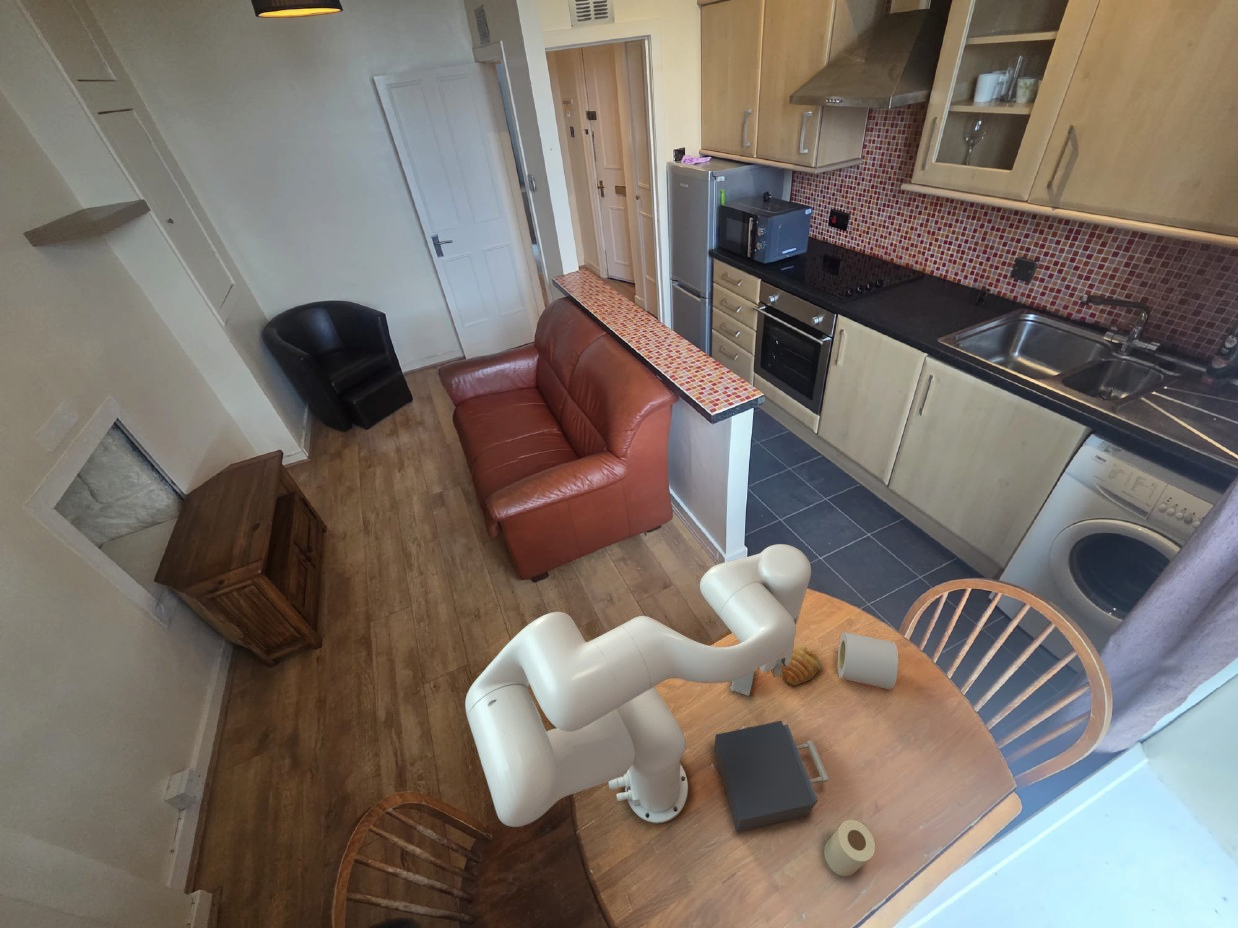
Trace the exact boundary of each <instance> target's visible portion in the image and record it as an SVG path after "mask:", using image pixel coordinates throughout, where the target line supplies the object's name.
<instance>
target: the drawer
mask: <svg viewBox="0 0 1238 928" xmlns="http://www.w3.org/2000/svg"><path fill="white" fill-rule="evenodd" d="M783 726H784V729H785V731H786V734H787V736H788V739H789V741H790V744H791V747H792V749H793V752H794V754H795V757H796V759H797V762H798V765H799V767H800V770H801V772H802V775H803V777H804V780H805V783H806V785H807V788H808V790H809V793H810V795H811V798H812V801H813V803H814V805H813V806H812V808H811V810H810V811H809V812H812V811H813V809H814V808H815V806H816V804H817V802H818V801H819V799H818V796H817V794H816V792H815V789H814V787H813V784H815V783H819V782H822V783H828V782H829V781H830V778H829V775H828V772H827V770H826V768H825V765H824V763H823V760H822V758H821V757H820V753H819V751H818V749H817V746H816V744H815V742H814V740H808V741H807V742H806V743H803V744H798V745H797V744H796V741H795V739H794V736H793V734H792V730H791V729H790V726H789V724H783ZM807 748H808V750H809V753H810V755H811V757H812V760H813V763H814V765H815V767H816V770H817V773H818V775H819V776H818V777H814V778H810V777H809V775H808V772H807V770H806V766H805V765H804V762H803V759H802V757H801V754H800V752H799V750H803V749H807Z"/></svg>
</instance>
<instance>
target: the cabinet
mask: <svg viewBox="0 0 1238 928" xmlns="http://www.w3.org/2000/svg"><path fill="white" fill-rule="evenodd" d="M783 725H784V724H783V721H782V720H778V721H777V720H776V721H772V722H769V723H764V724H759V725H754V726H749V727H745V728H740V729H736V730H730V731H725V732H722V733H716V734H715V736H714V737H715V738H714V746H713V753H714V757H715V759H716V763H717V767H718V770H719V774H720V778H721V781H722V785H723V789H724V793H725V795H726V798H727V803H728V807H729V809H730V813H731V817H732V820H733V824H734V827H735V832H736V833H742V832H747V831H751V830H752V831H753V830H754V829H755V830H756V829H760V828H765V827H768V826H774V825H777V824H782V823H787V822H791V821H795V820H800V819H804V818H807V816H808V815H809V813H810V812H811V811H810V810H811V808H812V806H813V805H814V803H813V801H812V798H811V795H810V793H809V790H808V788H807V785H806V783H805V780H804V777H803V775H802V772H801V770H800V767H799V765H798V762H797V759H796V757H795V754H794V752H793V749H792V747H791V744H790V741H789V739H788V736H787V734H786V731H785V729H784V726H783Z"/></svg>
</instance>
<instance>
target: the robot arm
mask: <svg viewBox="0 0 1238 928" xmlns="http://www.w3.org/2000/svg"><path fill="white" fill-rule="evenodd" d="M811 576H812V565H811V562H810V560H809V558H808V557H807V555H806V554H805V553H804V552H803V551H802V550H800V549H798V548H796V547H795V546H793V545H789V544H785V543H778V544H773V545H769V546H767V547H765V548H764V549H763V550H762V551H761V552H760V553H756V554H753V555H750V556H746V557H741V558H737V559H733V560H729V561H726V562H722V563H718V564H715V565H713V566H712V567H710V568H709V569H708V570H707V571H706V572H705V573H704V574H703V576H702V577H701V579H700V582H699V591H700V593H701V595H702V597H703V598H704V600H705V601H706V602H707V604H708V605H709V606H710V607H711V608H712V609H713V611H714V612H715V613H716V614H717V615H718V617H719V619H721V621H722V622H723V623H724V624H725V626H726V627H727V628H728V630H730V632H731V634H732V635H734V637H735V638H736V640H738V644H735V645H731V646H712V645H707V644H704V643H702V642H698V641H695V640H693V639H691V638H689V637H687V636H686V635H683V634H681V633H680V632H678V631H676V630H675V629H673V628H670V627H669V626H667V625H665V624H663V623H662V622H660V621H658V620H656V619H654V618H652V617H650V616H647V615H638V616H636V617H633V618H632V619H630V620H628V621H626V622H624V623H622V624H620V625H619V626H616V627H614V628H613V629H611V630H609V631H607V632H605V633H602V634H601V635H599V636H597V637H595V638H593V639H591V640H589V641H586V640H585V639H584V638H585V637H584V636H583V635H582V633H581V630H579V628H578V626H577V624H576V623H575V621H574V619H573V618H572V617H571V615H569V614H567V612H563V611H552V612H549V613H546V614H544V615H542V616H540V617H538V618H536V619H534V620H532V621H531V622H530V623H529V624H527V625H526V626H524V627H523V628H522V629H521V630H520V631H519V632H517V634H516V635H515V636H513V638H512V639H511V640H510V641H509V642H508V643H507V644H506V645H505V646H504V647H503V648H502V649H501V650H500V651H499V653H497V655H496V656H495V657H494V659H493V660H492V661H490V663H489V664H488V665H487V666H486V667H485V669H484V670H483V671H482V672H481V673H480V674H479V676H477V678H476V679H475V680H474V682H473V683H472V684H471V686H470V687H469V689H468V691H467V693H466V697H465V701H464V708H465V714H466V718H467V722H468V724H469V728H470V731H471V734H472V737H473V740H474V744H475V747H476V749H477V754H478V757H479V760H480V764H481V766H482V770H483V772H484V776H485V779H486V783H487V786H488V790H489V792H490V796H491V799H492V802H493V806H494V810H495V813H496V816H497V817H498V819H499V821H500V822H501V823H502V824H503V825H504V826H508V827H513V828H517V827H518V828H519V827H523V826H524V827H525V826H527V825H529V824H532V823H534V822H535V821H537V820H538V819H539V818H541V817H542V816H543V815H545V814H546V813H547V812H548V811H549V810H550V809H551V808H552V807H553V806H555V804H556V803H557V802H559V801H560V800H561V799H563V798H566V797H568V796H571V795H574V794H577V793H580V792H582V791H585V790H588V789H589V790H590V789H591V788H594V787H595V788H596V787H597V786H600V785H604V784H605V783H608V788H609V791H613V790H617V789H620V788H624V791H625V792H623V791H622V792H618V793H616V801H617V802H622V801H626V800H627V802H628V805H629V806H630V808H631V810H632V811H633V812H634V813H635V814H636V816H638V817H639V818H640V819H642V820H644V821H646V822H647V823H652V824H663V823H667V822H669V821H671V820H673V819H674V818H676V817H677V816H678V815H679V814H680V813H681V812H682V810H683V808H684V807H685V805H686V802H687V799H688V795H689V794H688V793H689V782H688V777H687V774H686V770H685V769H684V767H683V765H682V764H681V759H682V758H683V756H684V754H685V752H686V749H687V740H686V736H685V734H684V731H683V728H681V725H680V724H679V722H678V721H677V719H676V717H675V716H674V714H673V712H672V711H671V709H670V707H669V706H668V705H667V703H666V701H665V700H664V699H663V697H662V696H661V694H660V692H659V691H658V689H657V687H656V686H658V685H660V684H661V683H663V682H665V681H667V680H671V679H677V680H682V681H687V682H691V683H697V684H698V683H699V684H723V683H729V682H733V681H735V680H738V679H741V678H743V677H745V676H747V675H749V674H750V673H752V672H754V671H755V672H756V671H758V670H760V671H761V672H763V673H768V672H771V674H772V676H773V677H774V678H775V677H782V670H783V667H784V666H785V667H787V666H788V665H789V663H790V661H791V657H792V653H793V651H794V646H795V638H796V635H797V624H798V621H799V618H800V615H801V611H802V609H803V604H804V601H805V598H806V594H807V591H808V588H809V584H810V580H811ZM529 686H530V688H531V690H532V692H533V695H534V697H535V699H536V701H537V704H538V705H539V707H540V709H541V710H542V712H543V714H544V716H545V717H546V718H547V719H548V721H549V722H550V723H551V725H552V726H554V727H555V728H552V729H549V730H547V731H546V727H545V725H544V723H543V720H542V717H541V715H540V713H539V711H538V710H539V709H538V708H537V706H536V703H535V701H534V699H533V696H532V695H531V691H530V689H529ZM675 810H676V811H675Z"/></svg>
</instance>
